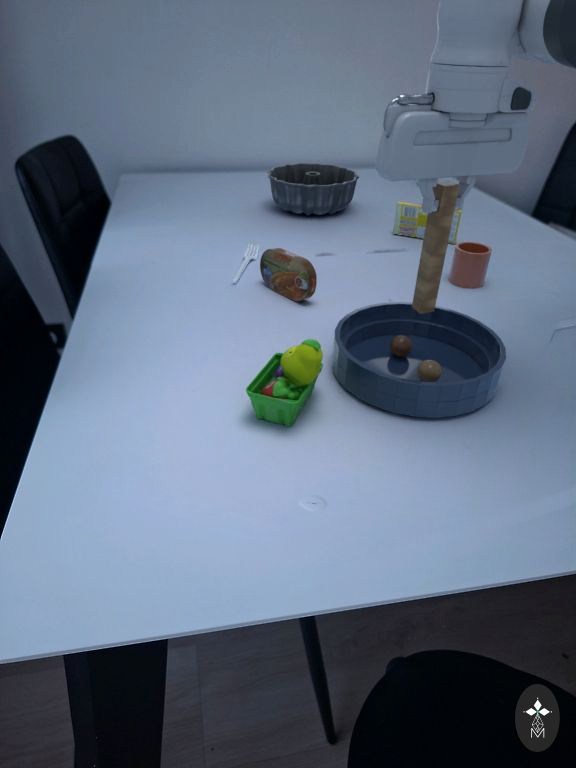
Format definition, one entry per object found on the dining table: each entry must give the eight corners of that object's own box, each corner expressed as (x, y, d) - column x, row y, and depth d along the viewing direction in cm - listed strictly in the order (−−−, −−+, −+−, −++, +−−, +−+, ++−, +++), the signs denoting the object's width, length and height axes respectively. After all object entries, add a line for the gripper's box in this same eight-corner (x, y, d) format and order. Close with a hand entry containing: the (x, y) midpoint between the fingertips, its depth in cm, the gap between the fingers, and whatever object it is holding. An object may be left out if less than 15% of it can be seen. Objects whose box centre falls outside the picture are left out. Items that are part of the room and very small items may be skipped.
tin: (258, 283, 112) (258, 244, 107) (270, 279, 114) (270, 241, 109) (306, 308, 103) (308, 266, 98) (318, 303, 104) (320, 262, 100)
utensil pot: (468, 275, 118) (476, 240, 114) (490, 288, 113) (499, 251, 108) (441, 279, 116) (448, 244, 111) (462, 292, 110) (470, 255, 106)
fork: (226, 284, 111) (226, 275, 110) (247, 251, 128) (247, 243, 127) (241, 285, 111) (241, 277, 110) (260, 252, 127) (260, 244, 126)
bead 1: (403, 348, 89) (406, 329, 87) (414, 359, 87) (418, 340, 85) (384, 352, 88) (387, 333, 86) (395, 363, 86) (399, 343, 84)
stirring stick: (425, 305, 80) (448, 180, 70) (434, 311, 78) (459, 185, 68) (411, 307, 79) (433, 181, 69) (420, 314, 77) (444, 186, 67)
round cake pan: (433, 323, 99) (439, 293, 95) (532, 399, 79) (544, 365, 76) (307, 346, 91) (308, 314, 87) (382, 437, 71) (388, 401, 68)
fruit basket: (275, 379, 82) (276, 313, 76) (330, 392, 79) (336, 325, 73) (244, 421, 73) (242, 350, 67) (304, 437, 71) (308, 365, 64)
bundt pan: (329, 227, 144) (332, 189, 138) (249, 210, 155) (249, 174, 149) (370, 205, 162) (373, 170, 157) (296, 191, 174) (297, 159, 168)
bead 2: (430, 373, 83) (434, 353, 81) (444, 385, 81) (448, 365, 79) (410, 377, 82) (414, 357, 80) (423, 389, 79) (427, 369, 77)
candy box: (456, 242, 136) (462, 209, 132) (454, 244, 135) (461, 211, 130) (394, 232, 142) (398, 200, 137) (392, 234, 140) (396, 202, 135)
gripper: (402, 97, 57) (385, 225, 65) (549, 94, 64) (518, 211, 71) (373, 91, 62) (361, 210, 70) (512, 89, 68) (487, 198, 76)
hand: (441, 211), depth 71 cm, fingers closed on stirring stick, 2 cm apart
